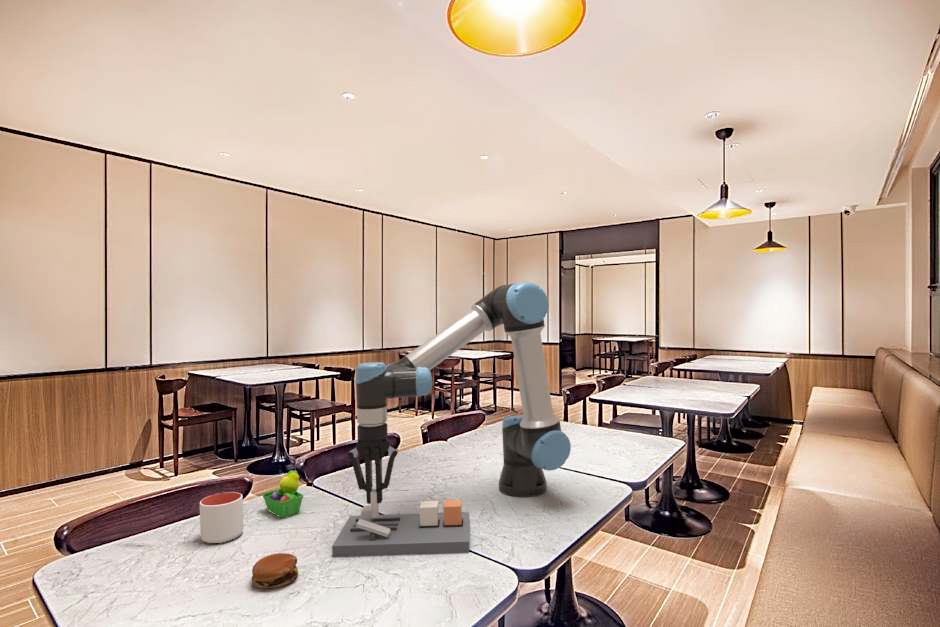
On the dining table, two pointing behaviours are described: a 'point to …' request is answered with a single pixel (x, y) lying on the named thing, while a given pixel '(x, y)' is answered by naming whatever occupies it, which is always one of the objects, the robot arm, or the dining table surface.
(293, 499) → the fruit basket
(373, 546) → the console
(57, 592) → the dining table surface
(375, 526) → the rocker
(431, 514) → the button
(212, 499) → the cup
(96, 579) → the dining table surface
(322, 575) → the dining table surface
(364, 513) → the slider knob
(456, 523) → the button
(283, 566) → the burger
